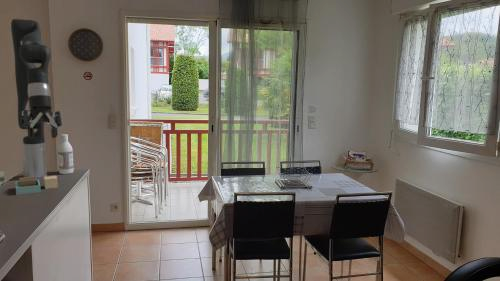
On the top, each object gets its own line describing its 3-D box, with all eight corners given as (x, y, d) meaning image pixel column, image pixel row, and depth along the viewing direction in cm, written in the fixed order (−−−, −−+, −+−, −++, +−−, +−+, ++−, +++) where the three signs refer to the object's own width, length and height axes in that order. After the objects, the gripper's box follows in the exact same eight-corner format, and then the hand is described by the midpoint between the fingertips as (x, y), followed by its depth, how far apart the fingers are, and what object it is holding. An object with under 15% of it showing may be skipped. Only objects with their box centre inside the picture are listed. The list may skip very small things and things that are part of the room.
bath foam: (56, 173, 199) (54, 134, 196) (68, 170, 205) (66, 133, 201) (64, 174, 195) (62, 136, 192) (76, 172, 201) (74, 134, 198)
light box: (44, 187, 173) (43, 176, 172) (56, 186, 176) (56, 175, 175) (45, 190, 169) (44, 179, 168) (58, 189, 172) (57, 178, 171)
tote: (16, 189, 169) (15, 181, 169) (39, 186, 174) (38, 179, 173) (16, 196, 160) (15, 188, 159) (40, 193, 165) (40, 185, 164)
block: (20, 189, 168) (19, 177, 167) (35, 187, 171) (34, 176, 170) (20, 192, 163) (19, 181, 162) (36, 190, 166) (35, 179, 165)
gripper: (52, 98, 155) (56, 138, 155) (15, 96, 143) (19, 139, 143) (62, 95, 151) (66, 136, 151) (25, 93, 139) (29, 137, 139)
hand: (43, 138), depth 147 cm, fingers open, 8 cm apart
